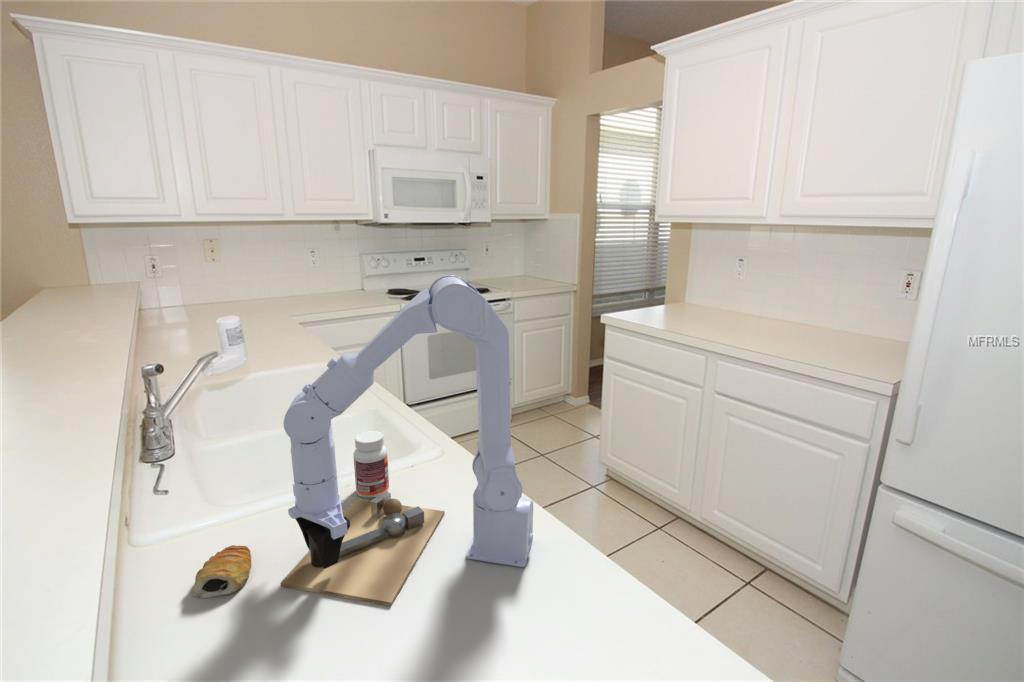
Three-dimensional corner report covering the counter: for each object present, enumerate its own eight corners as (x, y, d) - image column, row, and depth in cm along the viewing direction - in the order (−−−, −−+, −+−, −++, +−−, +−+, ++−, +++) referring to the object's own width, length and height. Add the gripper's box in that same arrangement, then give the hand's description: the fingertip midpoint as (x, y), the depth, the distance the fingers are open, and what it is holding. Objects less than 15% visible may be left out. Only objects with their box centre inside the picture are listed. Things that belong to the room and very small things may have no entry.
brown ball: (405, 512, 89) (404, 496, 88) (397, 522, 86) (397, 506, 85) (388, 509, 89) (387, 493, 88) (380, 520, 86) (379, 503, 85)
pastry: (215, 557, 78) (212, 535, 77) (262, 553, 79) (260, 531, 78) (190, 602, 69) (186, 578, 68) (243, 596, 70) (240, 573, 69)
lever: (416, 515, 87) (415, 488, 86) (426, 525, 85) (425, 497, 83) (307, 558, 76) (304, 527, 75) (315, 571, 74) (312, 540, 72)
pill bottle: (393, 493, 96) (391, 438, 93) (361, 502, 92) (358, 446, 89) (382, 478, 101) (379, 426, 98) (351, 487, 97) (348, 434, 94)
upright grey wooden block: (385, 505, 90) (384, 491, 90) (391, 508, 90) (390, 493, 89) (371, 516, 87) (370, 501, 87) (377, 518, 87) (376, 503, 86)
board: (444, 514, 89) (444, 511, 89) (391, 606, 68) (391, 602, 68) (356, 501, 93) (356, 499, 92) (280, 586, 72) (280, 582, 72)
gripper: (268, 464, 74) (278, 544, 77) (307, 507, 64) (316, 596, 67) (316, 449, 78) (323, 525, 82) (359, 487, 68) (364, 571, 72)
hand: (323, 556), depth 75 cm, fingers open, 4 cm apart
